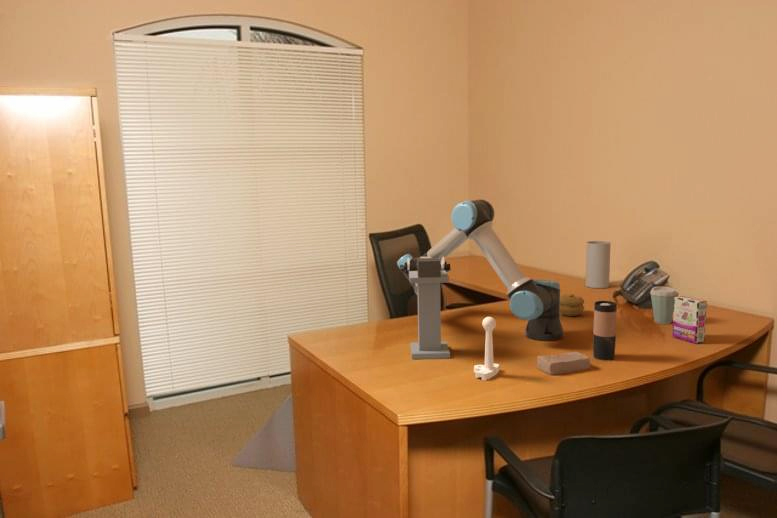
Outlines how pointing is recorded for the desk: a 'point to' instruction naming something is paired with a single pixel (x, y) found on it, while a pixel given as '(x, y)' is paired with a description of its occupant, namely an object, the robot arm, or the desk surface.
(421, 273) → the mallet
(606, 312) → the travel mug
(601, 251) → the cylinder vase
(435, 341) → the stand
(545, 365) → the brick
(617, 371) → the desk surface
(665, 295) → the disposable coffee cup
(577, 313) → the brown round lump
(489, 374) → the joystick
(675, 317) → the candy bar box
